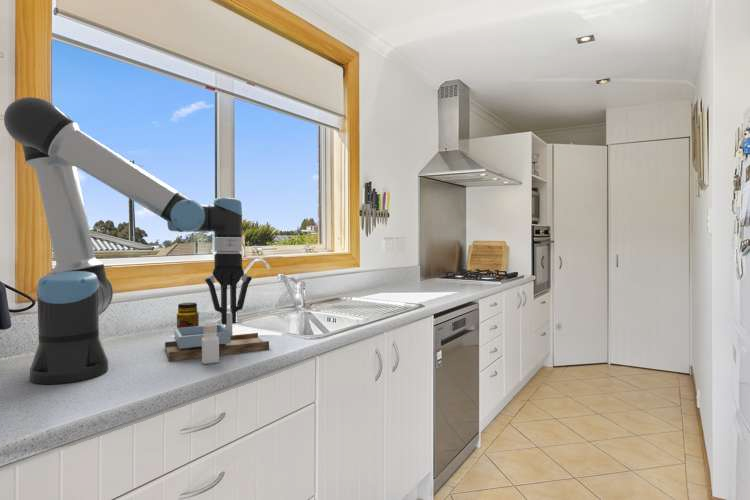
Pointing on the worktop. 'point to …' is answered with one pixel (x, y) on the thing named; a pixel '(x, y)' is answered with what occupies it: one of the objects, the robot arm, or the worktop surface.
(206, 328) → the pepper shaker
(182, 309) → the condiment
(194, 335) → the light blue tray
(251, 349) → the wooden cutting board
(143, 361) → the worktop surface
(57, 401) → the worktop surface
